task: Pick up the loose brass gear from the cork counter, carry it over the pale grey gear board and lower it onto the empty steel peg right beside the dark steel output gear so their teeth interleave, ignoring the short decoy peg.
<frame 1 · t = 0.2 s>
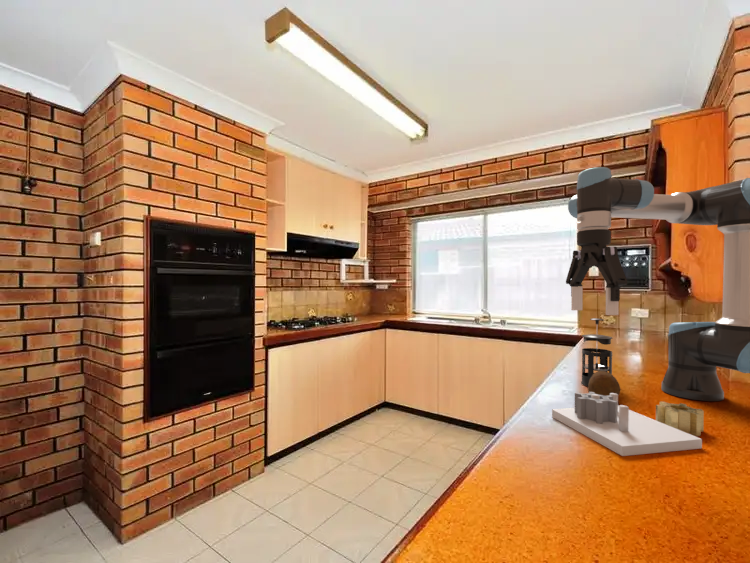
hand: (593, 312, 96), 28 cm above the countertop, fingers open, 13 cm apart
gear board: (619, 431, 89), on the countertop
brass gear: (679, 428, 91), on the countertop
french press: (597, 385, 128), on the countertop
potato: (604, 400, 112), on the countertop
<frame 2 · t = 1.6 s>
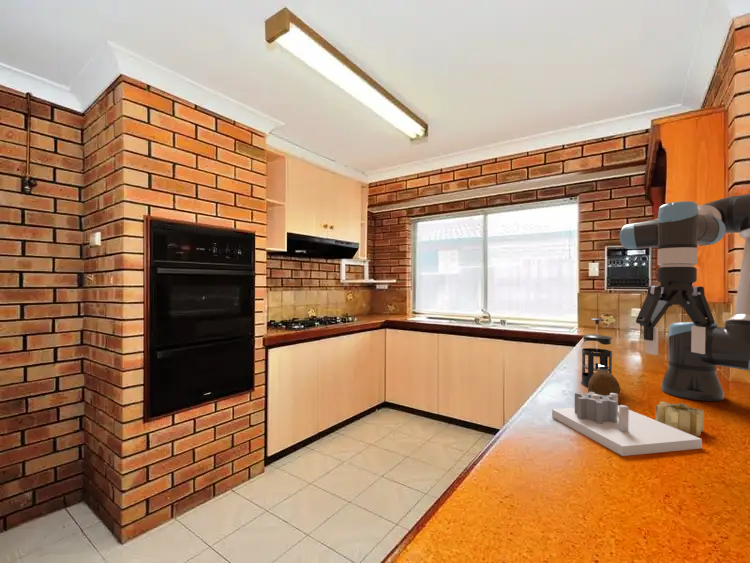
hand: (675, 353, 90), 18 cm above the countertop, fingers open, 13 cm apart
nothing on the countertop moved.
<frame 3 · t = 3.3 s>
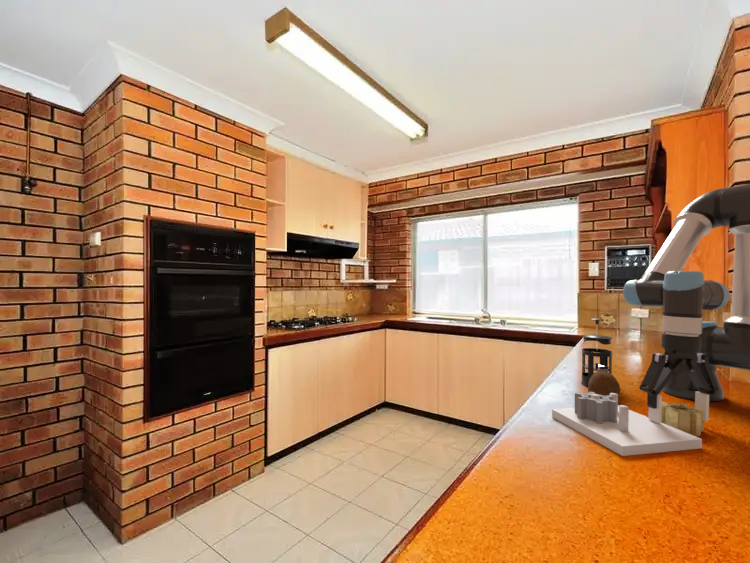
hand: (678, 420, 91), 2 cm above the countertop, fingers open, 13 cm apart
nothing on the countertop moved.
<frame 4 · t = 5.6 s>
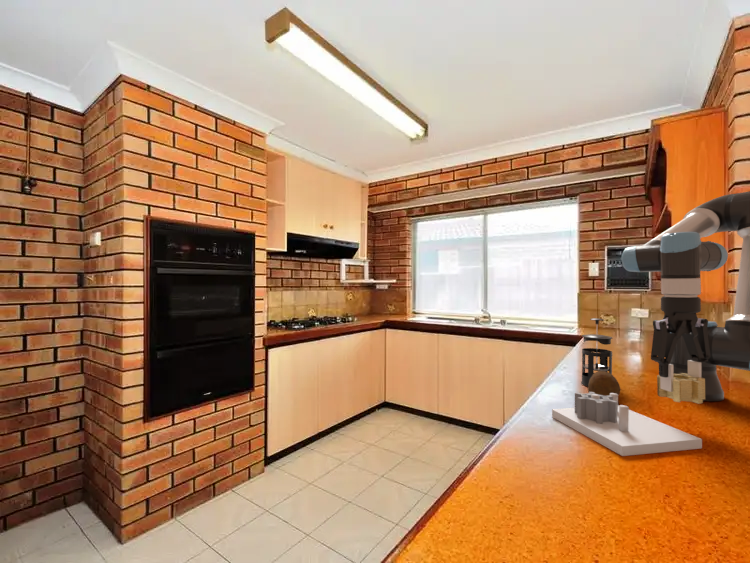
hand: (680, 388, 91), 10 cm above the countertop, fingers closed on brass gear, 7 cm apart
brass gear: (680, 397, 91), point 7 cm above the countertop, touching gripper
everything else where it was.
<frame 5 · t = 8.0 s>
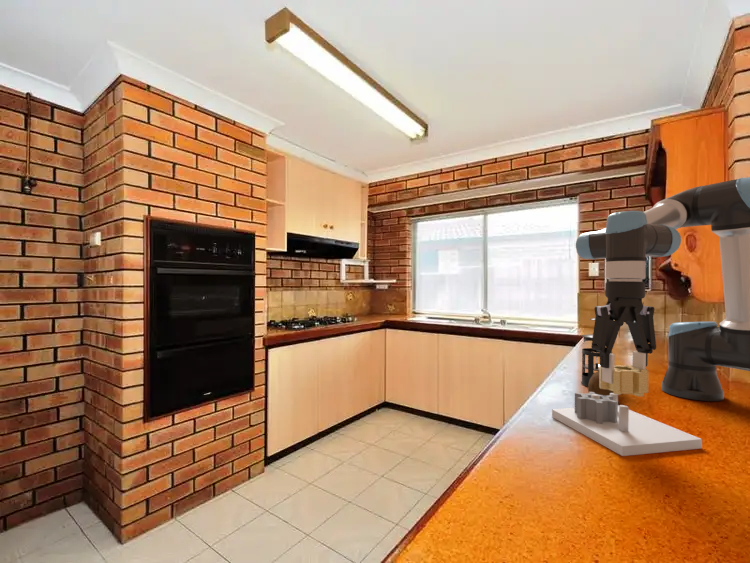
hand: (623, 381, 84), 13 cm above the countertop, fingers closed on brass gear, 7 cm apart
brass gear: (623, 390, 84), point 11 cm above the countertop, touching gripper
everything else where it was.
when the fingers open (5 cm above the countertop, at t = 10.7 s): brass gear stays where it is, resting on gear board.
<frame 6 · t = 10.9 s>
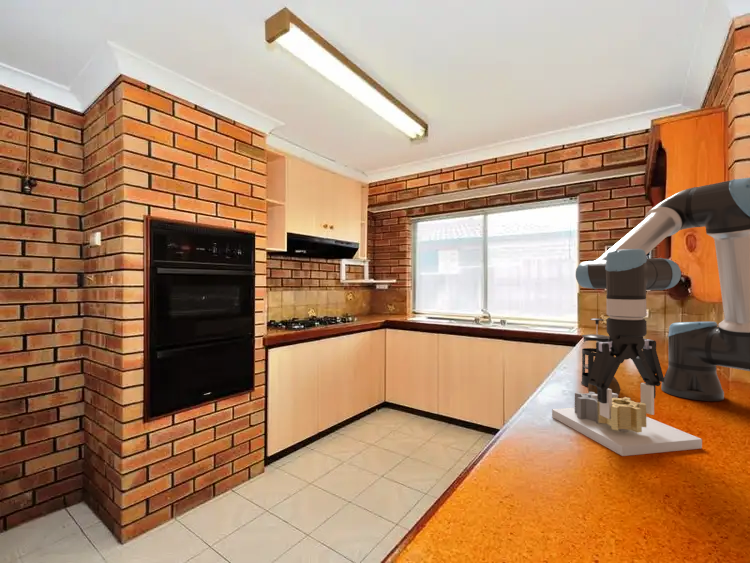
hand: (626, 414, 84), 6 cm above the countertop, fingers open, 10 cm apart
brass gear: (621, 424, 84), point 4 cm above the countertop, touching gear board, gripper
everything else where it was.
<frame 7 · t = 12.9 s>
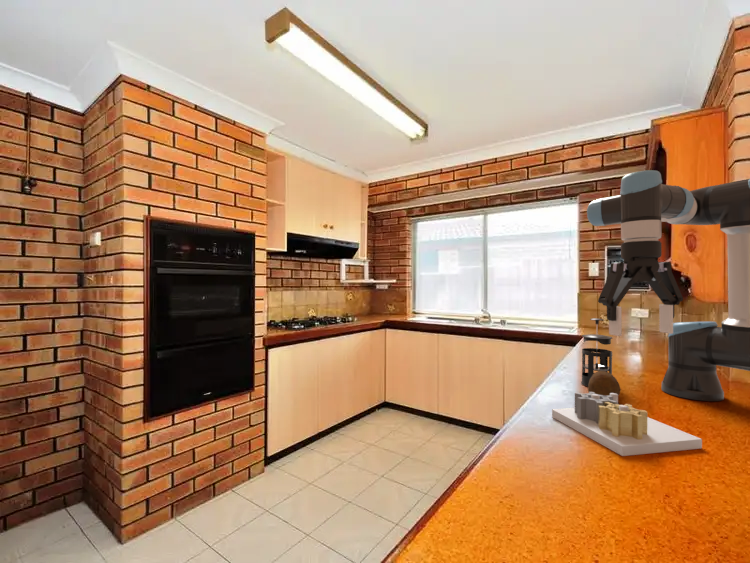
hand: (641, 334, 85), 24 cm above the countertop, fingers open, 13 cm apart
brass gear: (622, 430, 84), point 2 cm above the countertop, touching gear board
everything else where it was.
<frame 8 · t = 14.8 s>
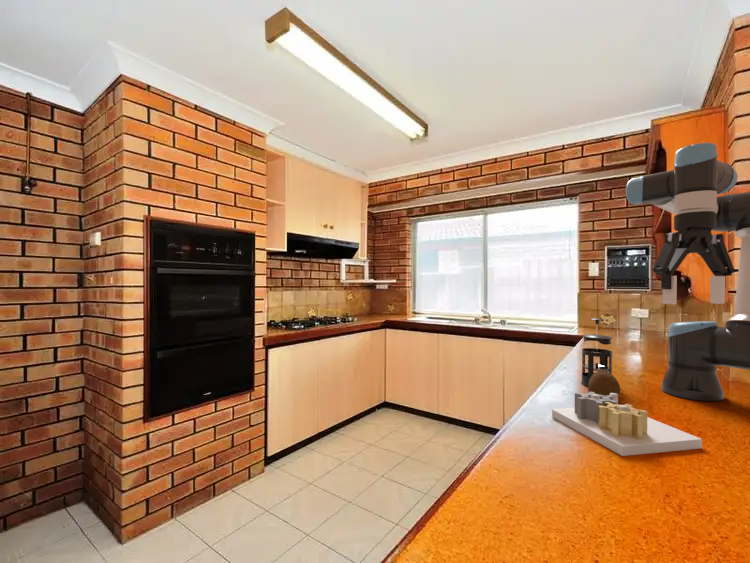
hand: (693, 303, 87), 31 cm above the countertop, fingers open, 13 cm apart
nothing on the countertop moved.
at the end: brass gear 0.4 cm from the target spot on the gear board, point 2.0 cm above the gear board's base; brass gear tilted 0°; the gripper is holding nothing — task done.
